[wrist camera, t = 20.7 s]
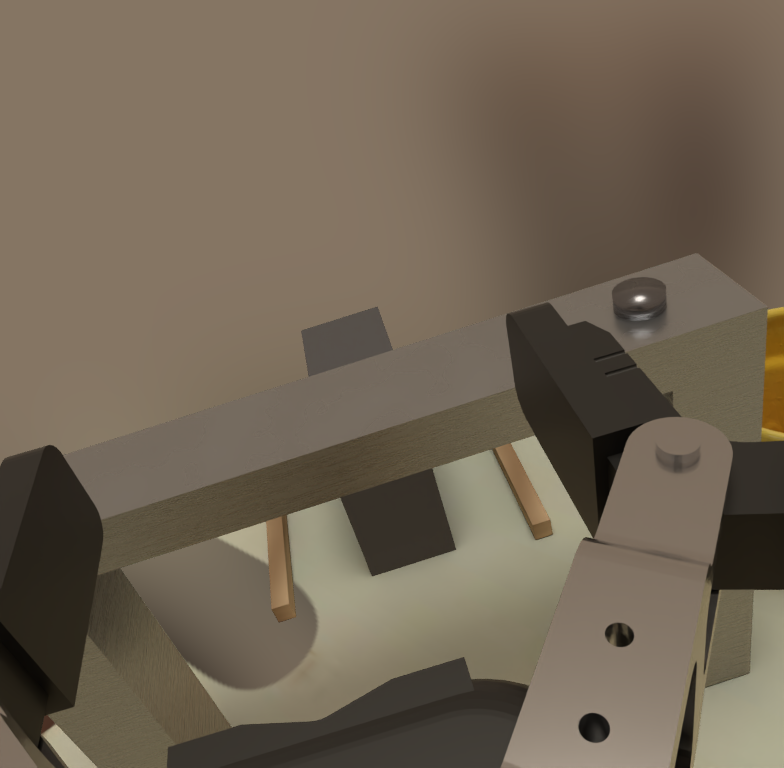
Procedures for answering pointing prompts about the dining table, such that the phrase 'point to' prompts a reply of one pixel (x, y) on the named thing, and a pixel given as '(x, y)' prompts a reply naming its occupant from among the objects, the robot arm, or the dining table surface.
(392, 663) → the dining table surface
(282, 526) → the bay
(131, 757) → the grey metal arch
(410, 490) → the dark grey box
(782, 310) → the plant pot
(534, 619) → the dining table surface
